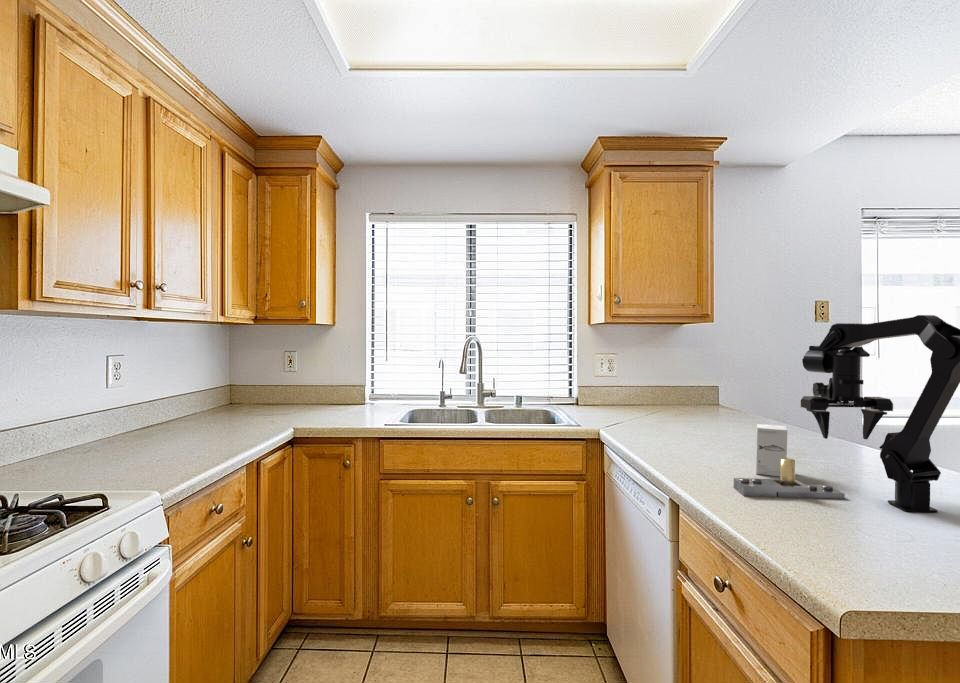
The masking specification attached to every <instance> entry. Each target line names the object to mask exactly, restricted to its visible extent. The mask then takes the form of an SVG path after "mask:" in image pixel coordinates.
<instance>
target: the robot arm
mask: <svg viewBox="0 0 960 683" xmlns="http://www.w3.org/2000/svg"><path fill="white" fill-rule="evenodd" d="M915 335H916V336H918V338H919V340H920V342H922V344H923V346H925V347H926V348H927V349H929V350H930V351H931V356H930V359H929V361H930V368H931V374H930V376H929V378H928V379H927V381H926V383H925V385H924V388H923V389H922V391H921V394H920V395H919V397H918V399H917V401H916V403H915V405H914V406H913V409H912V411H911V413H910V415H909V417H908V418H907V421H906V422H905V424H904V426H903V428H902V429H901V430H900V431H897V432H887V434H886V435H885V437H884V441H883V443H882V444H881V445H880V446H879V449H880V454H879V458H880V459H881V461H882V464H883V466H884V467H883V468H884V470H885V474H886V477H887V479H890V480H893V481H894V483H895V484H894V500H892V499H890V500H887V503H888V504H890V505H892V506H894V507H896V508H898V509H900V510H902V511H904V512H915V513H916V512H917V513H938V512H939V510H938V509H937V508H934V507H933V506H931V483H930V481H931V482H933V481H935V482H936V481H938V480H939V479H940V476H941V474H942V472H941V471H940V469H939V468H938V467H937V466H936V465H935V463H933V461H932V460H931V459H930V455H931V452H932V447H931V442H930V440H931V437H932V435H933V433H934V431H935V430H936V428H937V426H938V424H939V422H940V420H941V418H942V416H943V415H944V413H945V410H946V409H947V407H948V406H949V403H950V401H951V399H952V397H953V396H954V394H955V392H956V390H957V389H958V387H959V386H960V385H959V384H960V328H958V327H956V326H954V325H952V324H950V323H948V322H946V321H945V320H943V319H942V318H940V317H939V316H937V315H934V314H918V315H914V316H912V317H906V318H899V319H892V320H886V321H885V320H884V321H879V322H872V323H855V322H854V323H851V322H848V323H839V322H838V323H834V324H832V325H831V326H830V328H829V331H828V332H827V335H826V336H825V337H824V339H823V340H822V341H821V343H820V344H819V345H809V346H808V350H807V351H806V352H805V353H804V355H803V358H802V360H801V362H802V366H803V368H804V369H805V370H806V371H807V372H811V373H823V374H831V373H832V377H830V378H829V379H828V384H824V382H814V383H813V384H812V394H813V395H804V396H802V398H801V399H800V408H804V409H806V411H807V412H810V413H811V414H812V415H813V416H814V418H815V420H816V422H817V425H818V427H819V429H820V431H821V435H822V438H823V439H826V440H827V439H828V436H829V432H830V430H829V429H830V414H831V412H830V411H829V410H828V408H861V413H862V416H863V420H862V421H863V422H862V439H864V440H868V439H869V437H870V436H871V434H872V432H873V430H874V429H875V427H876V426H877V424H878V423H879V422H880V420H881V418H882V417H883V416H884V415H886V416H887V415H888V412H893V411H894V403H893V401H892V400H891V399H890V398H886V397H881V396H861V385H864V379H861V361H862V360H861V358H869V357H870V353H869V352H868V351H867V350H866V349H864V348H863V346H865V345H867V344H871V343H872V342H875V341H877V340H882V339H891V338H899V337H909V336H915Z"/></svg>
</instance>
